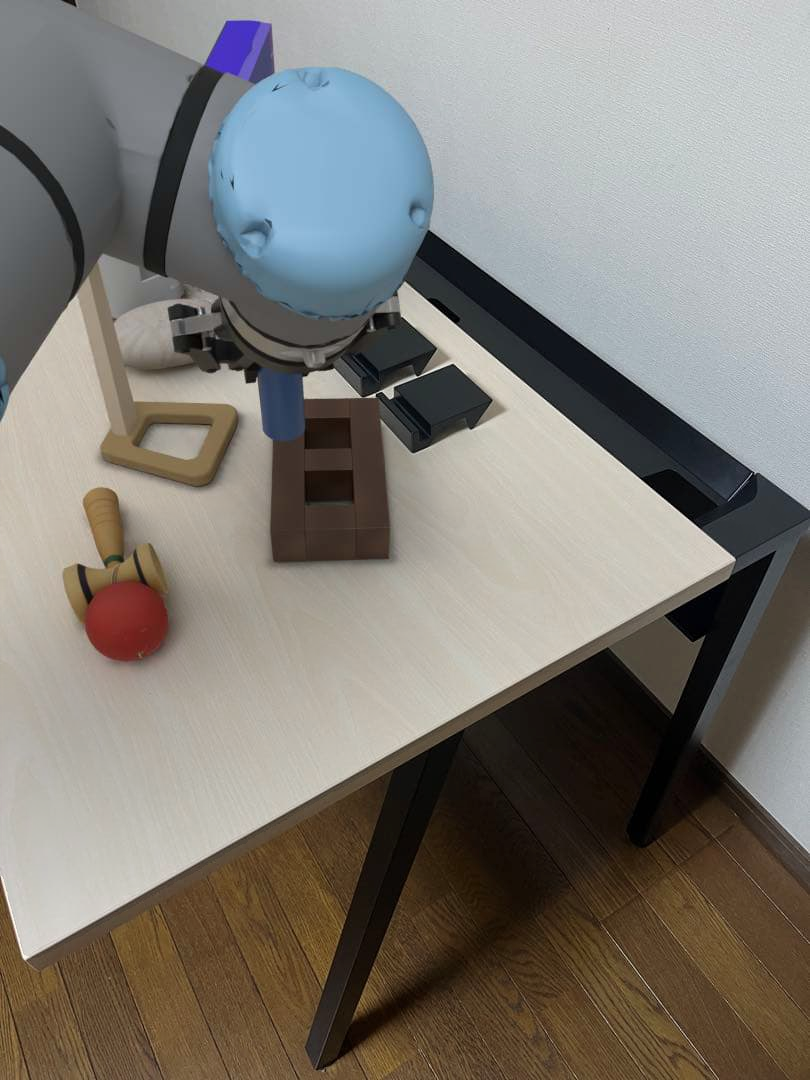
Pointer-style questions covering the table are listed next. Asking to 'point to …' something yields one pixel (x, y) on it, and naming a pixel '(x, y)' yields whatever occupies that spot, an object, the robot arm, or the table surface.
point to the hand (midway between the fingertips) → (273, 362)
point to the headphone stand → (146, 404)
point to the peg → (281, 404)
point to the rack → (331, 485)
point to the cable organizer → (134, 286)
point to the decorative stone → (151, 335)
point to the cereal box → (244, 50)
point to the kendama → (118, 587)
